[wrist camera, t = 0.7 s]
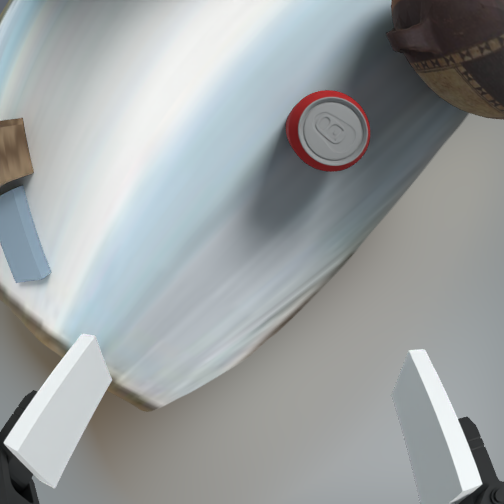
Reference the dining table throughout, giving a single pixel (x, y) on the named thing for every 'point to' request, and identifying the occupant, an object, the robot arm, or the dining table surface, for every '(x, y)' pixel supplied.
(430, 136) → the dining table surface
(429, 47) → the vase
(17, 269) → the panel
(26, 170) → the shelf
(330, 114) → the beverage can
